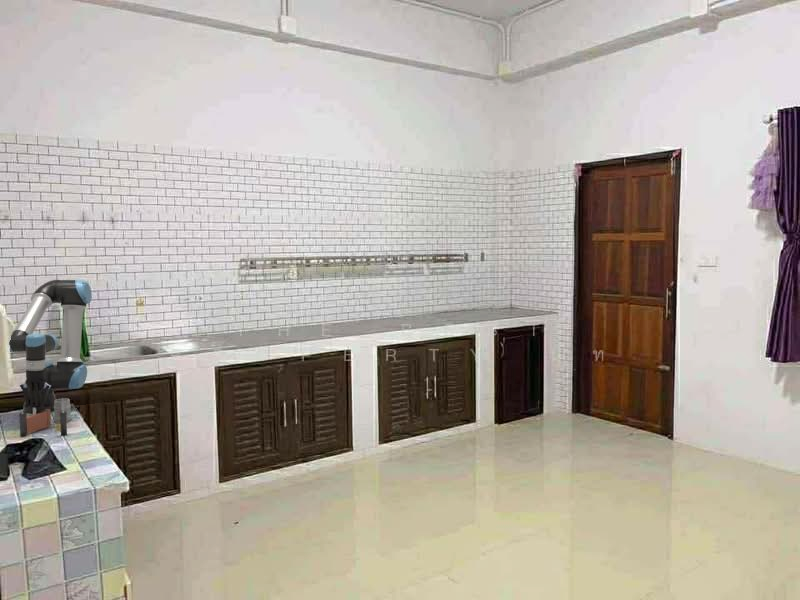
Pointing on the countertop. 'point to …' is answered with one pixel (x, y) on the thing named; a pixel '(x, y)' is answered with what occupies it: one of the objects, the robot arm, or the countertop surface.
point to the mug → (61, 409)
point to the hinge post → (22, 424)
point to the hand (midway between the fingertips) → (35, 421)
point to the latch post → (62, 423)
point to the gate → (38, 421)
